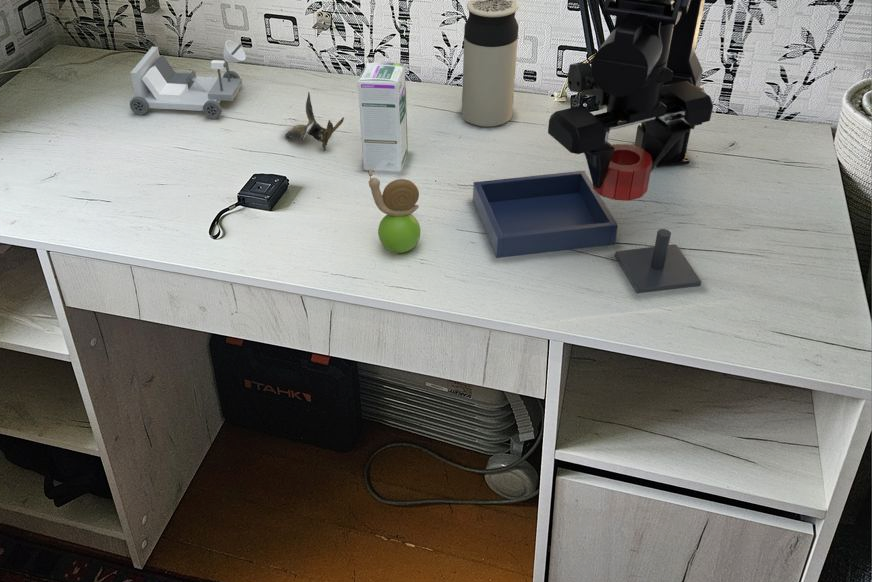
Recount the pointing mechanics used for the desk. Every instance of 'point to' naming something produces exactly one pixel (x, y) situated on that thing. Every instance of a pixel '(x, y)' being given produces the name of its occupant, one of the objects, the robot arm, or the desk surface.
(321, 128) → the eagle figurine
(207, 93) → the toy buggy
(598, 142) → the robot arm
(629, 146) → the ring
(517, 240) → the box
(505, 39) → the travel mug
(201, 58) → the desk surface
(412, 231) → the snail figurine
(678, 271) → the ring stand
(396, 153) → the syrup box
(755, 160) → the desk surface
